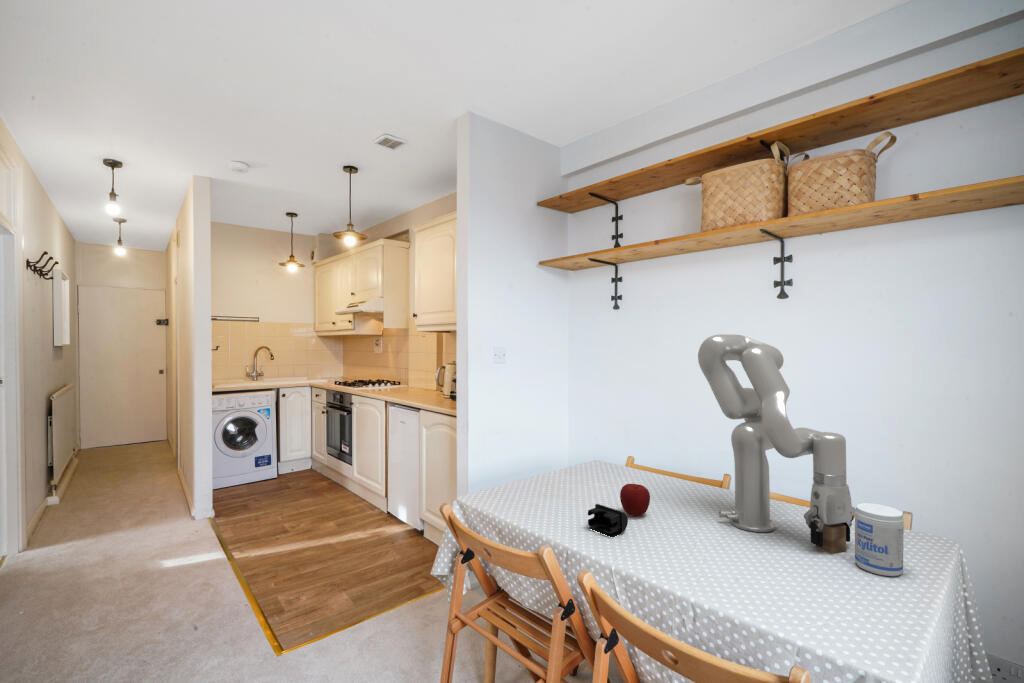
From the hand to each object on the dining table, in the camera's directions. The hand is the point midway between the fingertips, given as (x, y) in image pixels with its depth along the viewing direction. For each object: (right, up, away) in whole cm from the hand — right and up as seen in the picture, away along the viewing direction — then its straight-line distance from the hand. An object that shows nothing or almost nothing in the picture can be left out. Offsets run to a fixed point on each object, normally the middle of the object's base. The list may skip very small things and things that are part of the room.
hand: (830, 542), depth 130 cm
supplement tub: (+5, -2, -11) cm, 12 cm away
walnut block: (0, -2, 0) cm, 2 cm away
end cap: (-57, -3, +14) cm, 59 cm away
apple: (-46, -3, +27) cm, 53 cm away
